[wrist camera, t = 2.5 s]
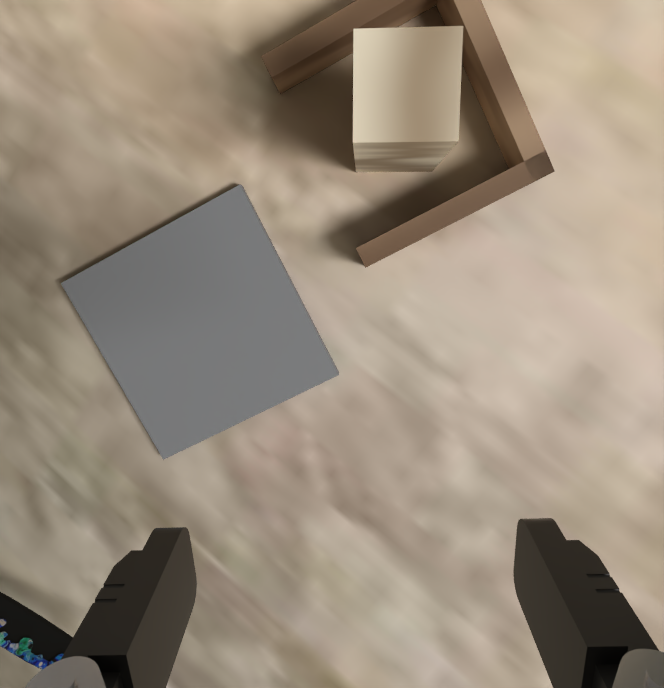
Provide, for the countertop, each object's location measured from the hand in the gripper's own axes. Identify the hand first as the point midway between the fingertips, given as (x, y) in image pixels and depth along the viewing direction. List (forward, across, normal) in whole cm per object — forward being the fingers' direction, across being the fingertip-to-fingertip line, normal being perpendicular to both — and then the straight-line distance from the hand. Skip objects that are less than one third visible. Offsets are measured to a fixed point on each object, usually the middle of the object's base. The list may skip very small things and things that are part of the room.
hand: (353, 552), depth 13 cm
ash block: (+23, +3, +11) cm, 26 cm away
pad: (+22, -9, -1) cm, 24 cm away
